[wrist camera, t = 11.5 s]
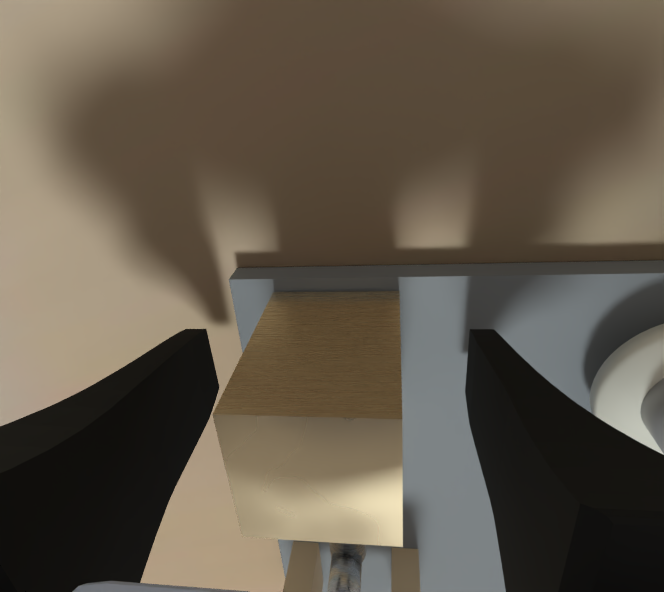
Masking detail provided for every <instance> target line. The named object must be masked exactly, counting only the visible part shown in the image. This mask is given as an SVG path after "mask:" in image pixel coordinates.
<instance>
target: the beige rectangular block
mask: <svg viewBox="0 0 664 592" xmlns="http://www.w3.org/2000/svg"><path fill="white" fill-rule="evenodd" d="M213 418H214V423H215V427H216V431H217V435H218V439H219V443H220V447H221V452H222V456H223V460H224V464H225V468H226V472H227V476H228V481H229V485H230V489H231V493H232V497H233V501H234V505H235V510H236V514H237V518H238V522H239V526H240V530H241V534H242V537H249V538H266V539H282V540H298V541H314V542H329V545H330V554H331V566H330V574H329V582H328V590H327V592H360V590H361V574H362V562H363V561H364V559H365V556H366V545H379V546H395V547H403V439H402V379H401V336H400V293H399V291H343V292H273V293H272V295H271V297H270V299H269V301H268V303H267V305H266V307H265V309H264V311H263V314H262V316H261V318H260V320H259V322H258V324H257V326H256V328H255V330H254V332H253V334H252V336H251V338H250V340H249V342H248V344H247V346H246V348H245V350H244V352H243V354H242V356H241V358H240V360H239V362H238V364H237V366H236V368H235V370H234V372H233V374H232V376H231V378H230V380H229V382H228V384H227V386H226V388H225V390H224V392H223V394H222V396H221V398H220V400H219V402H218V404H217V406H216V408H215V410H214V412H213Z"/></svg>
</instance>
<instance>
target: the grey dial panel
mask: <svg viewBox="0 0 664 592" xmlns="http://www.w3.org/2000/svg"><path fill="white" fill-rule="evenodd" d="M229 283H230V288H231V293H232V298H233V304H234V309H235V314H236V320H237V325H238V330H239V335H240V341H241V346H242V351H243V352H244V350H245V348H246V346H247V344H248V342H249V340H250V338H251V336H252V334H253V332H254V330H255V328H256V326H257V324H258V322H259V320H260V318H261V316H262V314H263V311H264V309H265V307H266V305H267V303H268V301H269V299H270V297H271V295H272V293H273V292H343V291H399V293H400V336H401V379H402V439H403V547H395V546H379V545H366V556H365V559H364V561H363V562H362V574H361V590H360V592H506V589H505V583H504V576H503V570H502V563H501V557H500V551H499V545H498V539H497V533H496V527H495V521H494V516H493V511H492V507H491V502H490V498H489V495H488V491H487V487H486V484H485V480H484V477H483V473H482V469H481V466H480V462H479V458H478V455H477V451H476V447H475V444H474V440H473V436H472V432H471V429H470V424H469V418H468V411H467V403H466V395H465V385H466V372H467V358H468V345H469V331H470V329H494V330H495V331H496V332H497V333H498V334H499V335H500V336H501V337H502V338H503V339H504V340H505V341H506V342H507V343H508V344H509V345H510V346H511V347H512V348H513V349H514V350H515V351H516V352H517V353H518V354H519V355H520V356H521V357H522V358H523V359H524V360H525V361H526V362H528V363H529V364H530V365H531V366H532V367H533V368H534V369H535V370H536V371H537V372H538V373H540V374H541V375H542V376H543V377H544V378H545V379H547V380H548V381H549V382H550V383H551V384H553V385H554V386H555V387H556V388H558V389H559V390H560V391H561V392H563V393H564V394H565V395H566V396H568V397H569V398H570V399H572V400H573V401H574V402H576V403H577V404H579V405H580V406H582V407H583V408H584V409H586V410H587V411H589V412H590V413H592V412H591V407H590V391H591V386H592V383H593V380H594V378H595V376H596V374H597V372H598V370H599V369H600V367H601V366H602V364H603V363H604V362H605V360H606V359H607V358H608V357H609V356H610V355H611V354H612V353H613V352H614V351H615V350H616V349H617V348H619V347H620V346H621V345H622V344H624V343H625V342H627V341H628V340H629V339H631V338H633V337H635V336H636V335H638V334H640V333H642V332H644V331H646V330H648V329H650V328H653V327H655V326H658V325H661V324H664V260H649V261H594V262H539V263H483V264H428V265H373V266H317V267H262V268H237V269H236V270H235V272H234V273H233V275H232V276H231V277H230V279H229ZM278 542H279V547H280V553H281V558H282V563H283V568H284V574H285V584H284V589H283V592H327V590H328V582H329V574H330V566H331V554H330V545H329V542H314V541H298V540H282V539H278Z"/></svg>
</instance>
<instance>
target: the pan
mask: <svg viewBox="0 0 664 592" xmlns="http://www.w3.org/2000/svg"><path fill="white" fill-rule="evenodd" d="M590 407H591V412H592V414H593V415H595V416H596V417H598V418H599V419H601V420H602V421H604V422H606V423H607V424H609V425H610V426H612V427H614V428H615V429H617V430H619V431H621V432H622V433H624V434H626V435H628V436H629V437H631V438H633V439H635V440H636V441H638V442H640V443H642V444H644V445H646V446H647V447H649V448H651V449H653V450H655V451H657V452H659V453H661V454H663V455H664V324H661V325H658V326H655V327H653V328H650V329H648V330H646V331H644V332H642V333H640V334H638V335H636V336H635V337H633V338H631V339H629V340H628V341H627V342H625V343H624V344H622V345H621V346H620V347H619V348H617V349H616V350H615V351H614V352H613V353H612V354H611V355H610V356H609V357H608V358H607V359H606V360H605V362H604V363H603V364H602V366H601V367H600V369H599V370H598V372H597V374H596V376H595V378H594V380H593V383H592V386H591V391H590Z"/></svg>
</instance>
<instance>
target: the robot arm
mask: <svg viewBox="0 0 664 592" xmlns="http://www.w3.org/2000/svg"><path fill="white" fill-rule="evenodd" d="M218 390H219V384H218V379H217V375H216V370H215V366H214V362H213V357H212V353H211V348H210V344H209V339H208V335H207V331H206V329H185V330H183V331H181V332H179V333H177V334H176V335H174V336H172V337H170V338H169V339H167V340H166V341H164V342H162V343H161V344H159V345H158V346H156V347H155V348H153V349H151V350H150V351H148V352H147V353H145V354H144V355H142V356H140V357H139V358H137V359H136V360H134V361H133V362H131V363H129V364H128V365H126V366H125V367H123V368H121V369H119V370H118V371H116V372H114V373H113V374H111V375H109V376H107V377H106V378H104V379H102V380H101V381H99V382H97V383H96V384H94V385H92V386H90V387H88V388H86V389H84V390H83V391H81V392H79V393H77V394H75V395H73V396H71V397H69V398H67V399H64V400H62V401H60V402H58V403H56V404H54V405H52V406H50V407H47V408H45V409H43V410H40V411H38V412H35V413H33V414H30V415H28V416H26V417H23V418H21V419H18V420H16V421H14V422H11V423H9V424H6V425H3V426H0V592H248V591H236V590H223V589H210V588H197V587H185V586H172V585H159V584H146V583H140V581H141V578H142V575H143V572H144V569H145V566H146V563H147V560H148V557H149V554H150V551H151V548H152V545H153V543H154V540H155V537H156V534H157V531H158V529H159V526H160V523H161V521H162V518H163V515H164V513H165V510H166V507H167V505H168V502H169V500H170V497H171V495H172V493H173V491H174V488H175V486H176V484H177V482H178V480H179V478H180V476H181V474H182V472H183V470H184V468H185V466H186V464H187V462H188V460H189V458H190V456H191V454H192V452H193V450H194V448H195V446H196V444H197V442H198V440H199V438H200V436H201V434H202V432H203V430H204V428H205V426H206V424H207V422H208V420H209V418H210V415H211V412H212V409H213V406H214V403H215V400H216V397H217V393H218ZM465 395H466V403H467V411H468V418H469V424H470V429H471V432H472V436H473V440H474V444H475V447H476V451H477V455H478V458H479V462H480V466H481V469H482V473H483V477H484V480H485V484H486V487H487V491H488V495H489V498H490V502H491V507H492V511H493V516H494V521H495V527H496V533H497V539H498V545H499V551H500V557H501V563H502V570H503V576H504V583H505V589H506V592H664V455H663V454H661V453H659V452H657V451H655V450H653V449H651V448H649V447H647V446H646V445H644V444H642V443H640V442H638V441H636V440H635V439H633V438H631V437H629V436H628V435H626V434H624V433H622V432H621V431H619V430H617V429H615V428H614V427H612V426H610V425H609V424H607V423H606V422H604V421H602V420H601V419H599V418H598V417H596V416H595V415H593V414H592V413H590V412H589V411H587V410H586V409H584V408H583V407H582V406H580V405H579V404H577V403H576V402H574V401H573V400H572V399H570V398H569V397H568V396H566V395H565V394H564V393H563V392H561V391H560V390H559V389H558V388H556V387H555V386H554V385H553V384H551V383H550V382H549V381H548V380H547V379H545V378H544V377H543V376H542V375H541V374H540V373H538V372H537V371H536V370H535V369H534V368H533V367H532V366H531V365H530V364H529V363H528V362H526V361H525V360H524V359H523V358H522V357H521V356H520V355H519V354H518V353H517V352H516V351H515V350H514V349H513V348H512V347H511V346H510V345H509V344H508V343H507V342H506V341H505V340H504V339H503V338H502V337H501V336H500V335H499V334H498V333H497V332H496V331H495V330H494V329H470V331H469V345H468V358H467V372H466V385H465Z"/></svg>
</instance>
